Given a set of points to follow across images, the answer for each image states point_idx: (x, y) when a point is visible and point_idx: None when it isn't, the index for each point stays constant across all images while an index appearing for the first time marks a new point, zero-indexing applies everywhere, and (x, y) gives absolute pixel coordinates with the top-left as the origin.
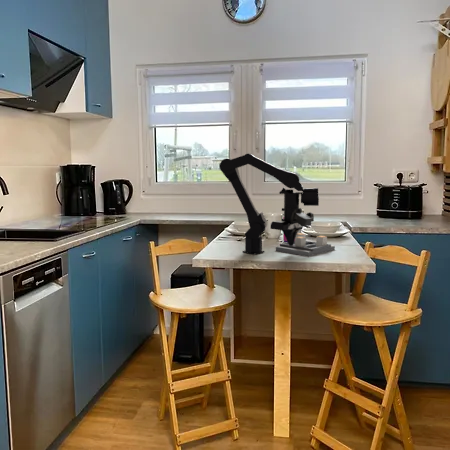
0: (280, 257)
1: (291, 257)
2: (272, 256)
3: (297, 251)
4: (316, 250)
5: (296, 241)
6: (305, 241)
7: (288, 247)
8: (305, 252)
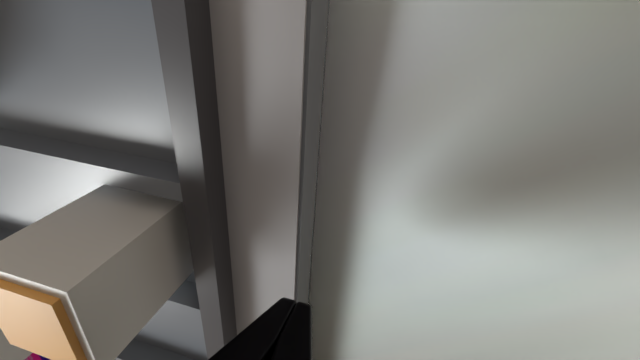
0: (614, 263)
1: (544, 150)
2: (587, 345)
3: (305, 184)
4: None
5: (136, 312)
6: (34, 224)
7: (238, 318)
8: (312, 45)
